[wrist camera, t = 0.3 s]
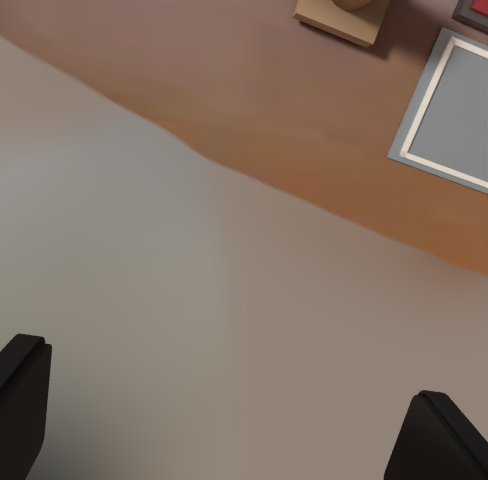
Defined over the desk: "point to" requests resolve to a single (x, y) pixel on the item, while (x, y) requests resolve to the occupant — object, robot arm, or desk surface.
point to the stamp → (344, 17)
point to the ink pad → (472, 13)
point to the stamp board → (449, 114)
